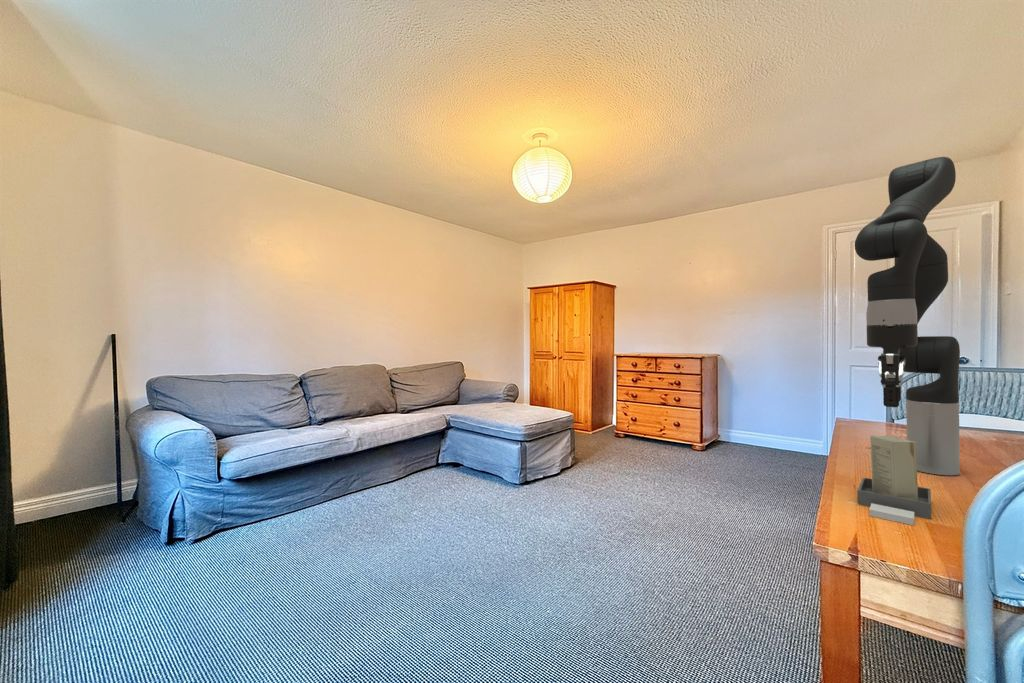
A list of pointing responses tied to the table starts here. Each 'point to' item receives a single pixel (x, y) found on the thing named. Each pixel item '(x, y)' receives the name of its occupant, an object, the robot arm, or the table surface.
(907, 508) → the grey open tray
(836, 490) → the table surface
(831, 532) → the table surface
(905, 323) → the robot arm
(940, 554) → the table surface
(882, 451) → the skincare box
